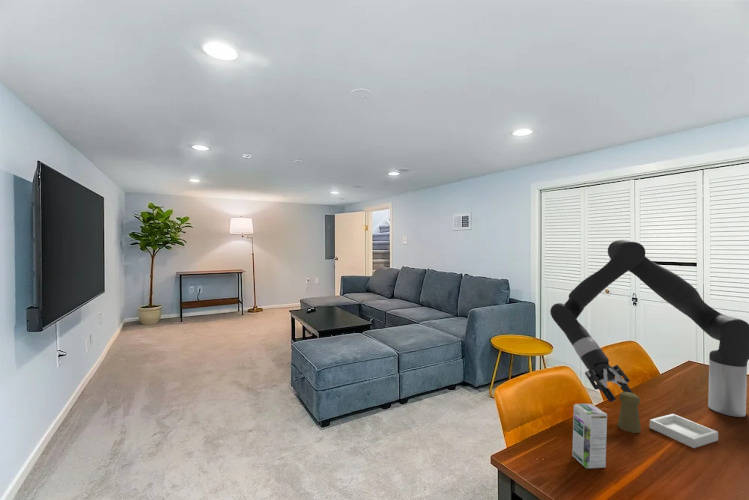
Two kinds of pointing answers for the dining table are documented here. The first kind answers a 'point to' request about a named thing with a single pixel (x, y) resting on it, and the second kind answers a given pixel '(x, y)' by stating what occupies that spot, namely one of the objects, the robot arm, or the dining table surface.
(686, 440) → the keeper tray
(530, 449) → the dining table surface
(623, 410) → the cork
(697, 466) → the dining table surface
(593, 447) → the syrup box
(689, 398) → the dining table surface
